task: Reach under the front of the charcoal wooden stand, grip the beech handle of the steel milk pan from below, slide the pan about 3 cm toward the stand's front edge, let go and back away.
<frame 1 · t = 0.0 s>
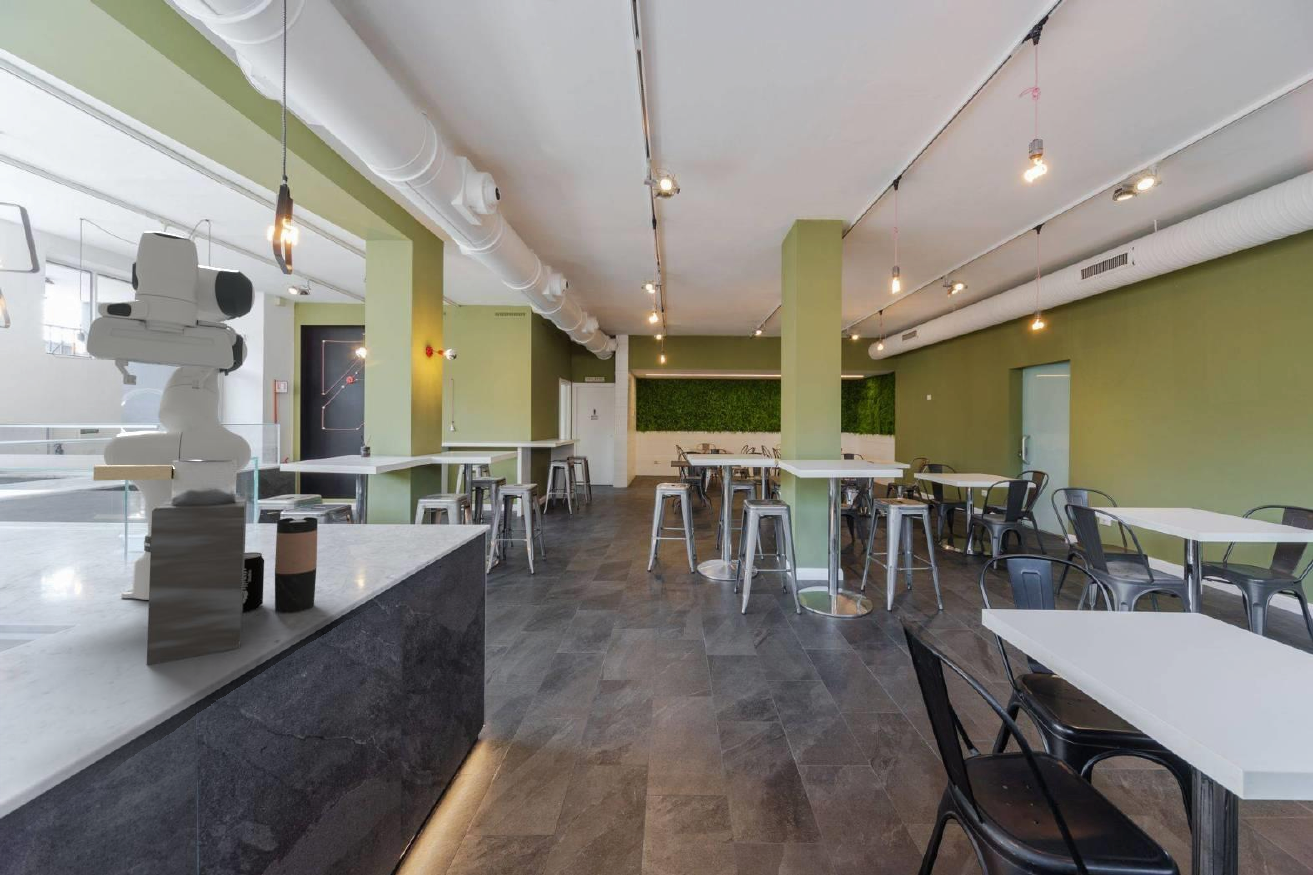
hand: (164, 386, 97), 48 cm above the worktop, tool pointing down, fingers open, 8 cm apart
beverage can: (243, 609, 111), on the worktop
travel mug: (294, 608, 113), on the worktop
milk pan: (204, 503, 94), point 26 cm above the worktop, touching stand
stand: (199, 640, 94), on the worktop
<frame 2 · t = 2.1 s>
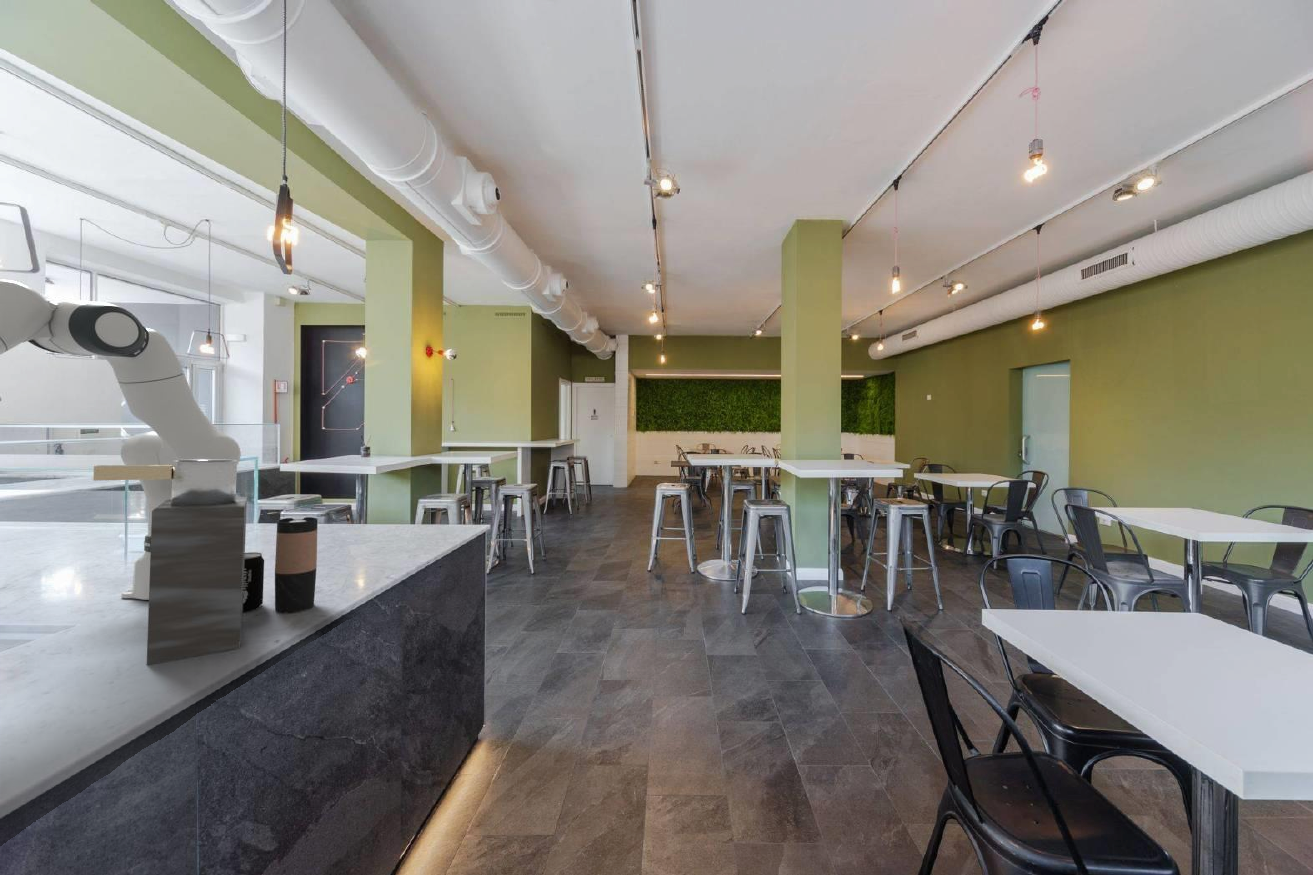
nothing on the worktop moved.
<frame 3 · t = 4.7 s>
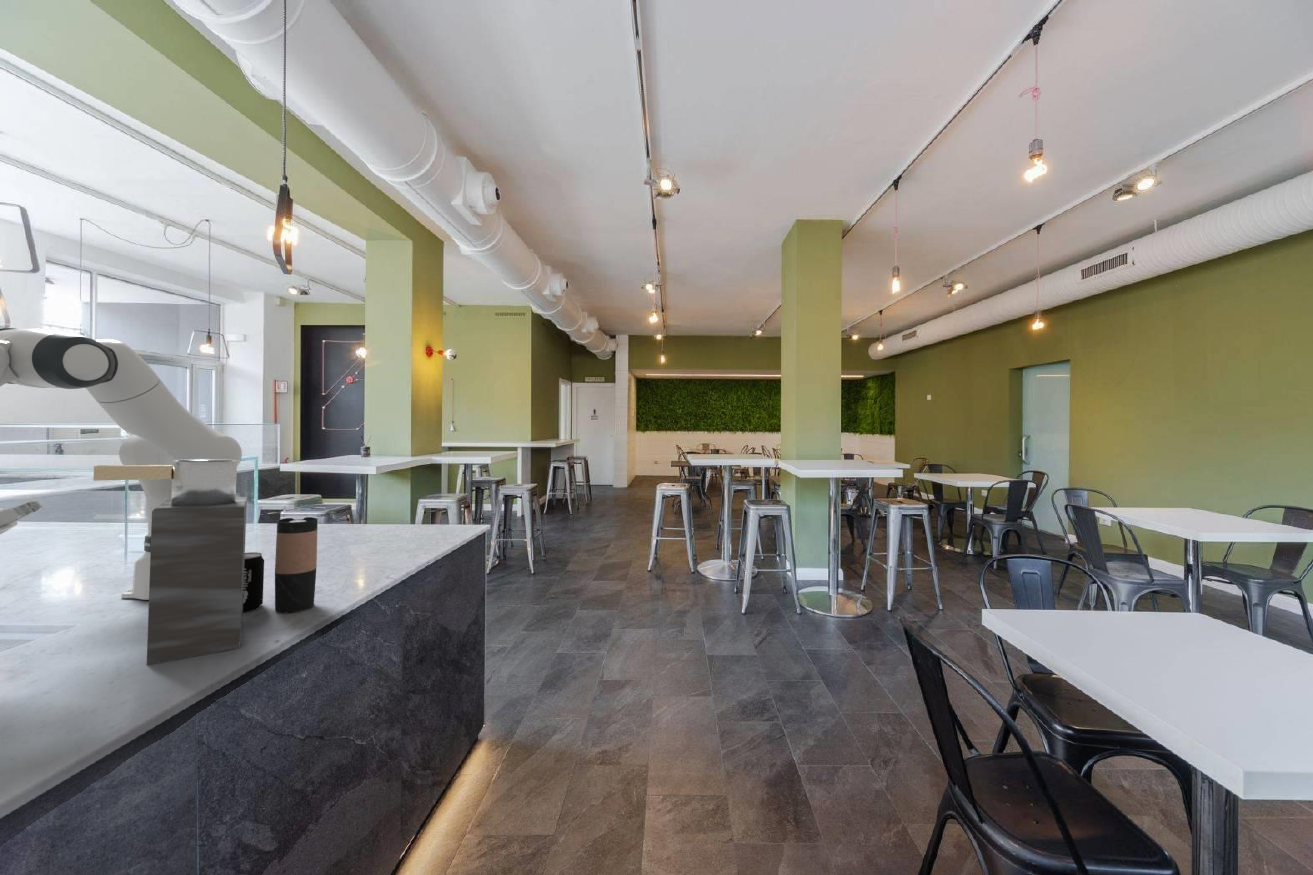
hand: (28, 507, 81), 26 cm above the worktop, tool pointing upward, fingers open, 8 cm apart
nothing on the worktop moved.
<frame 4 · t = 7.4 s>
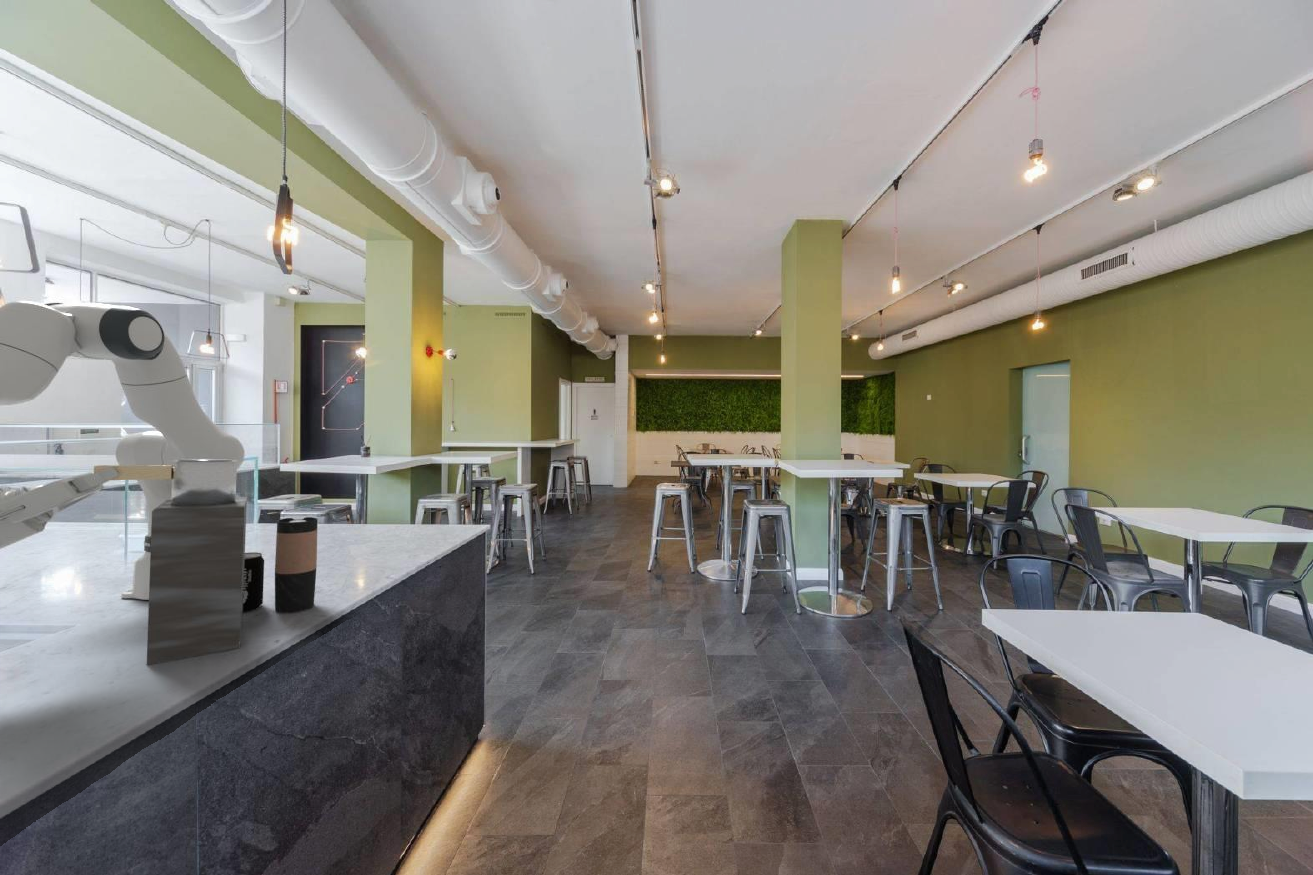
hand: (119, 470, 87), 32 cm above the worktop, tool pointing upward, fingers closed on milk pan, 3 cm apart
milk pan: (204, 503, 94), point 26 cm above the worktop, touching gripper, stand
everything else where it was.
when the fingers open (34 cm above the worktop, at t = 9.5 s): milk pan stays where it is, resting on stand.
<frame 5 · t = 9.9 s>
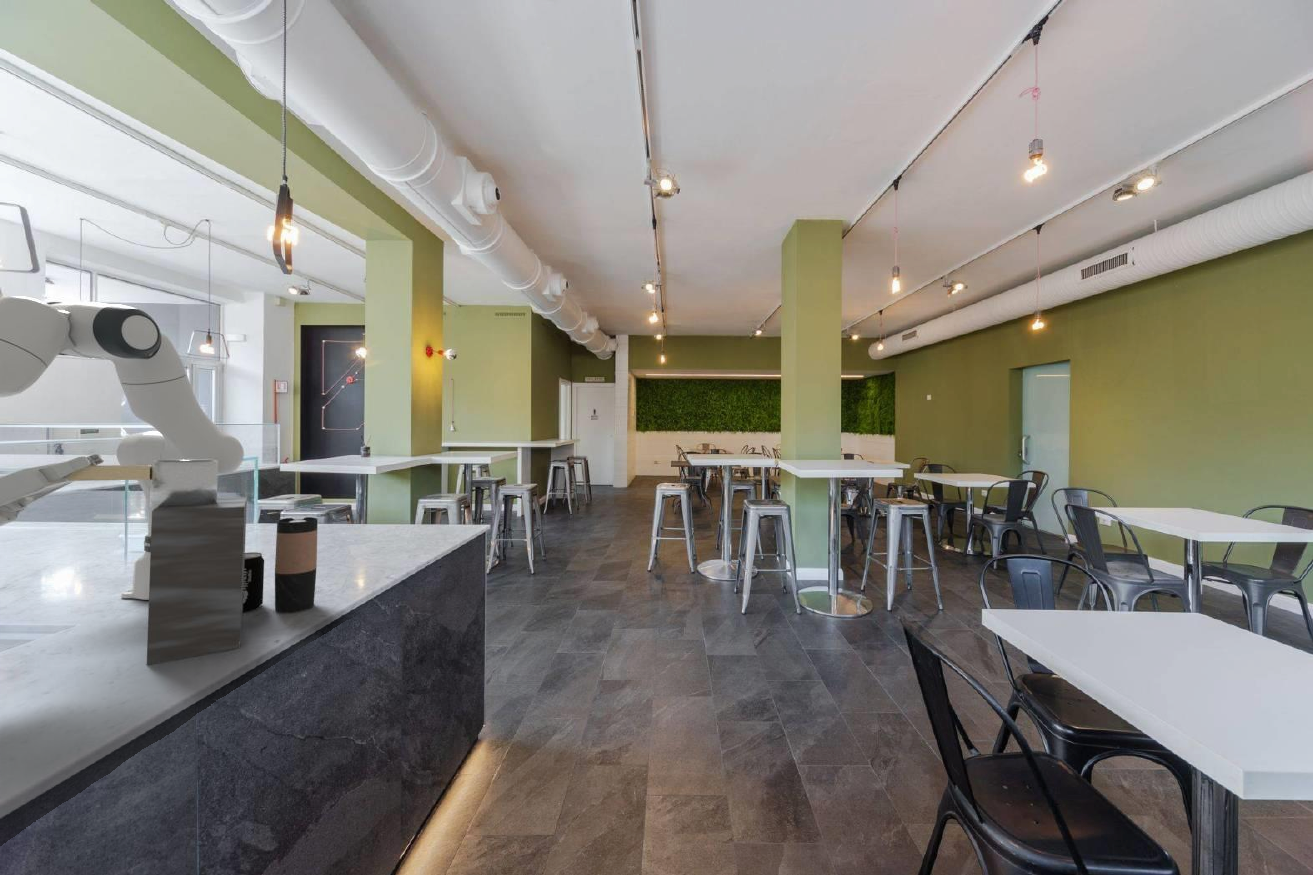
hand: (94, 458, 85), 34 cm above the worktop, tool pointing upward, fingers open, 7 cm apart
milk pan: (184, 504, 92), point 26 cm above the worktop, touching stand
everything else where it was.
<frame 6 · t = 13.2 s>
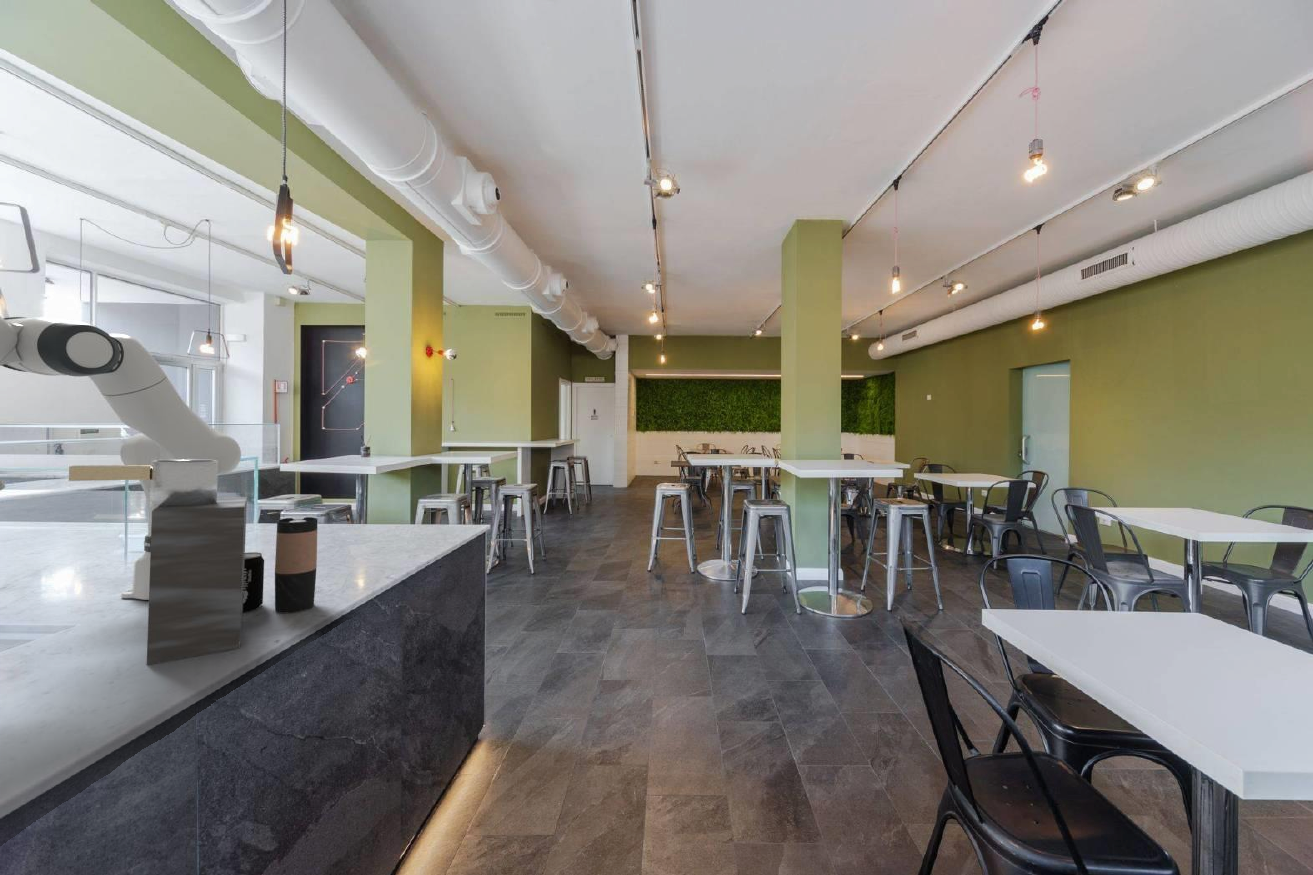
nothing on the worktop moved.
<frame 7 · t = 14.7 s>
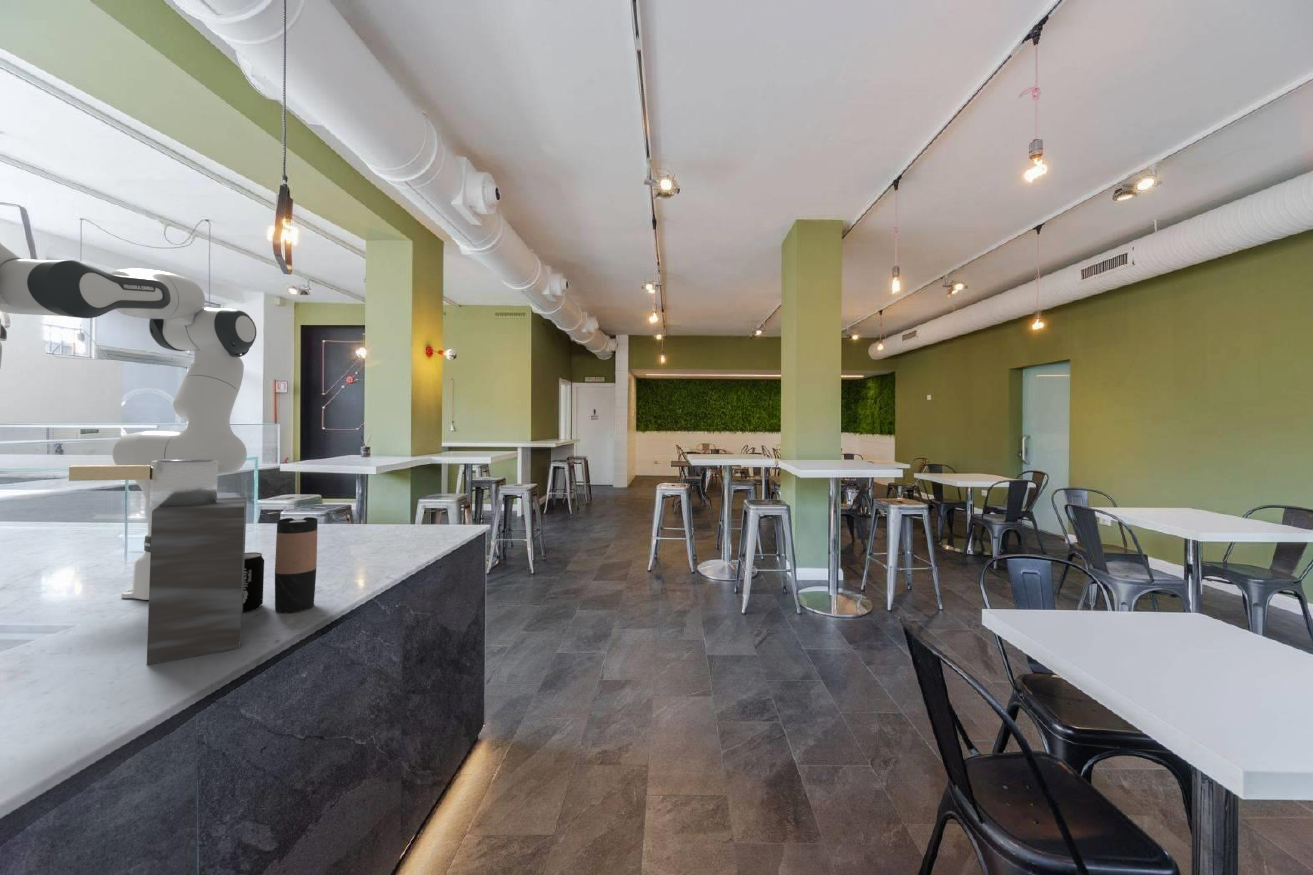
nothing on the worktop moved.
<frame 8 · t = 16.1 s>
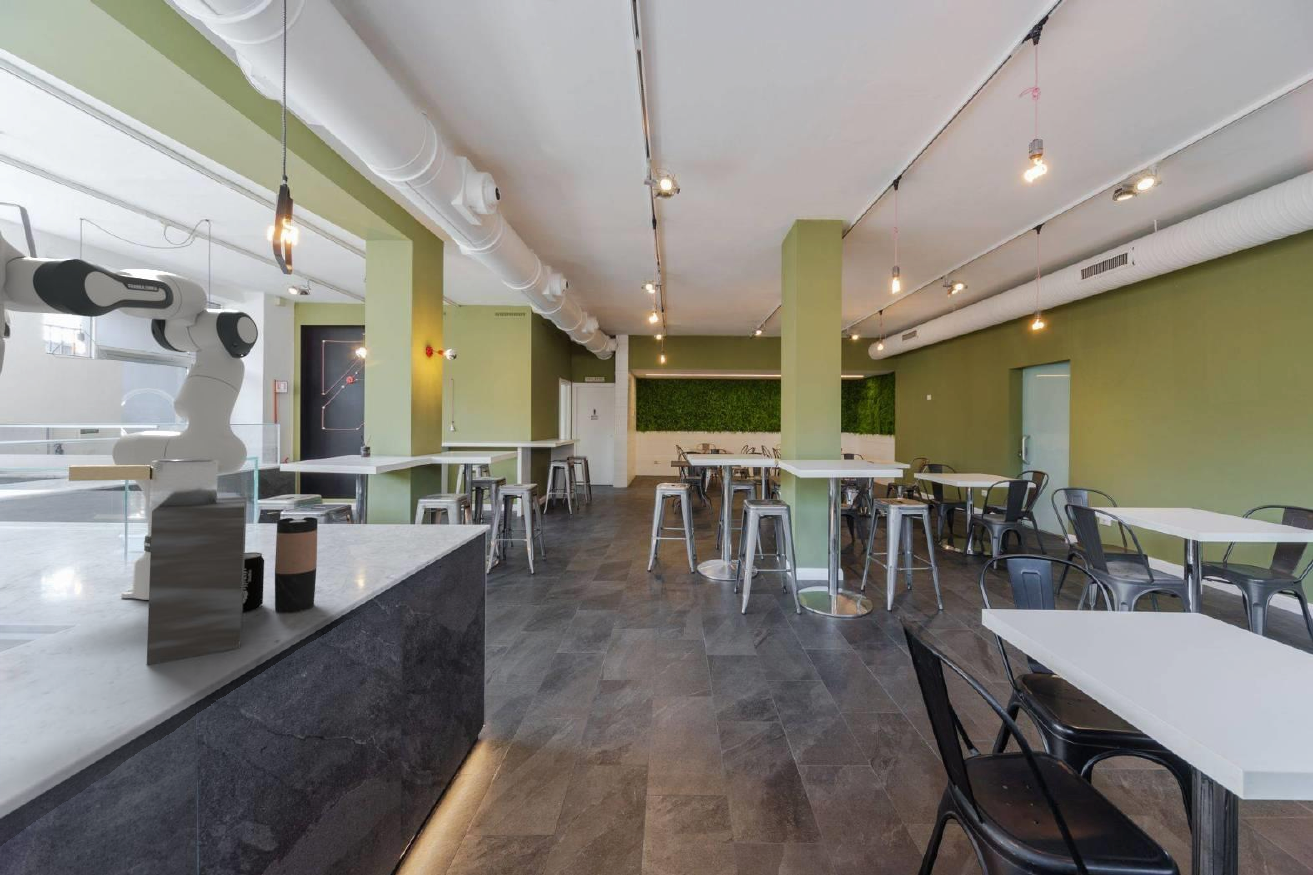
nothing on the worktop moved.
at the end: milk pan 1.2 cm from the target spot, point 26.0 cm above the worktop; milk pan tilted 0°; the gripper is holding nothing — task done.
